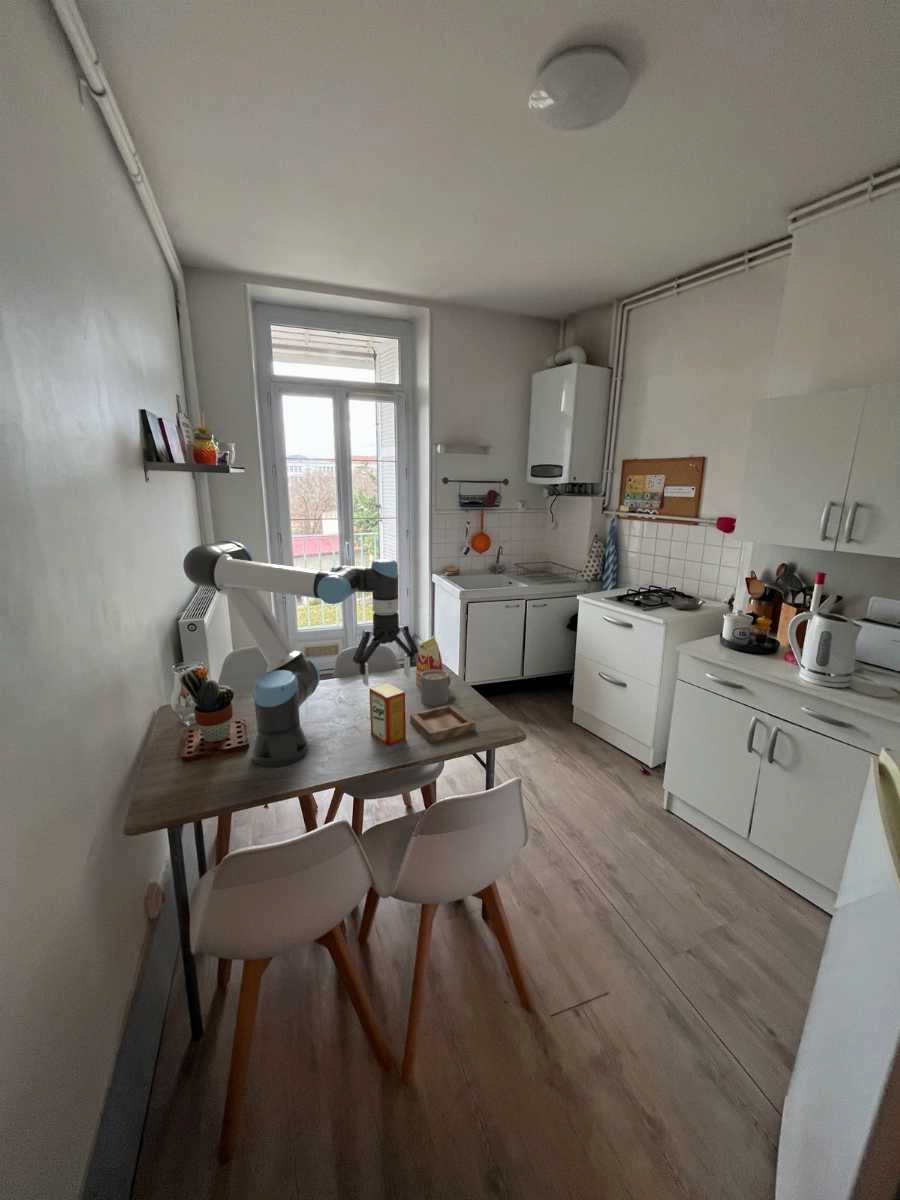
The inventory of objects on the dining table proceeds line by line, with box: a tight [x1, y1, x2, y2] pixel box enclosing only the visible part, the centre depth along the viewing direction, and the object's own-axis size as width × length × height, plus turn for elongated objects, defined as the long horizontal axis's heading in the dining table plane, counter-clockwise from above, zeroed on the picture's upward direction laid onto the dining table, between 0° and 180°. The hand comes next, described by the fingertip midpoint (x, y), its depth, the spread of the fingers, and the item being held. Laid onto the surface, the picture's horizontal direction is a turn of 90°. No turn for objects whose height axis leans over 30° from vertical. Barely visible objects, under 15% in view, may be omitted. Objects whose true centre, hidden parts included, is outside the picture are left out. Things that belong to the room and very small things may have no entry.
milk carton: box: [415, 635, 444, 688], centre depth 189 cm, size 9×9×20 cm
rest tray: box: [409, 704, 476, 744], centre depth 157 cm, size 16×15×3 cm
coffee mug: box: [420, 669, 451, 707], centre depth 177 cm, size 13×10×10 cm
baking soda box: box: [368, 682, 407, 747], centre depth 149 cm, size 10×6×16 cm
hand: (386, 680), depth 147 cm, fingers open, 13 cm apart
